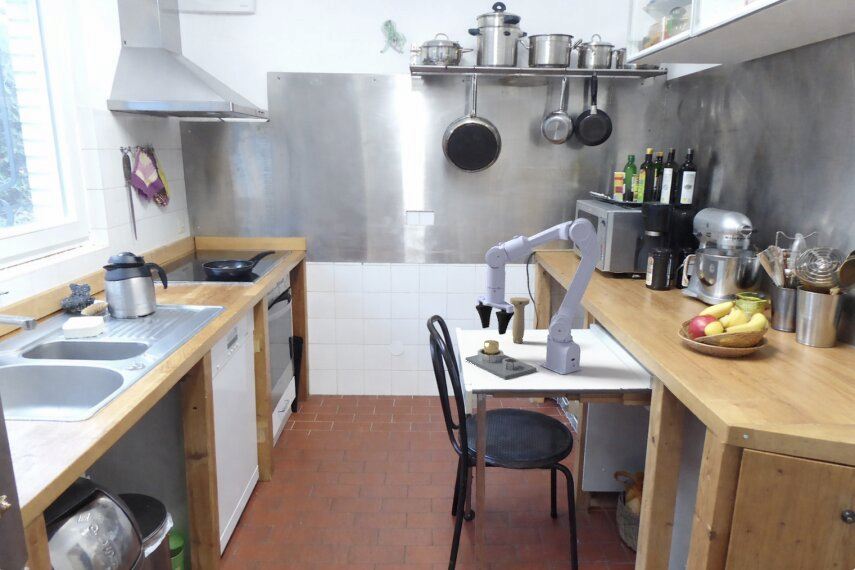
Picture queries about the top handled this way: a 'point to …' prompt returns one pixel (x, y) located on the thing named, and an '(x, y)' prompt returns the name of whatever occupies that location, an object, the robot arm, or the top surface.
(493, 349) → the brass peg
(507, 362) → the narrow collar
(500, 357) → the wide collar
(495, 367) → the board
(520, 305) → the handle
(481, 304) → the robot arm
